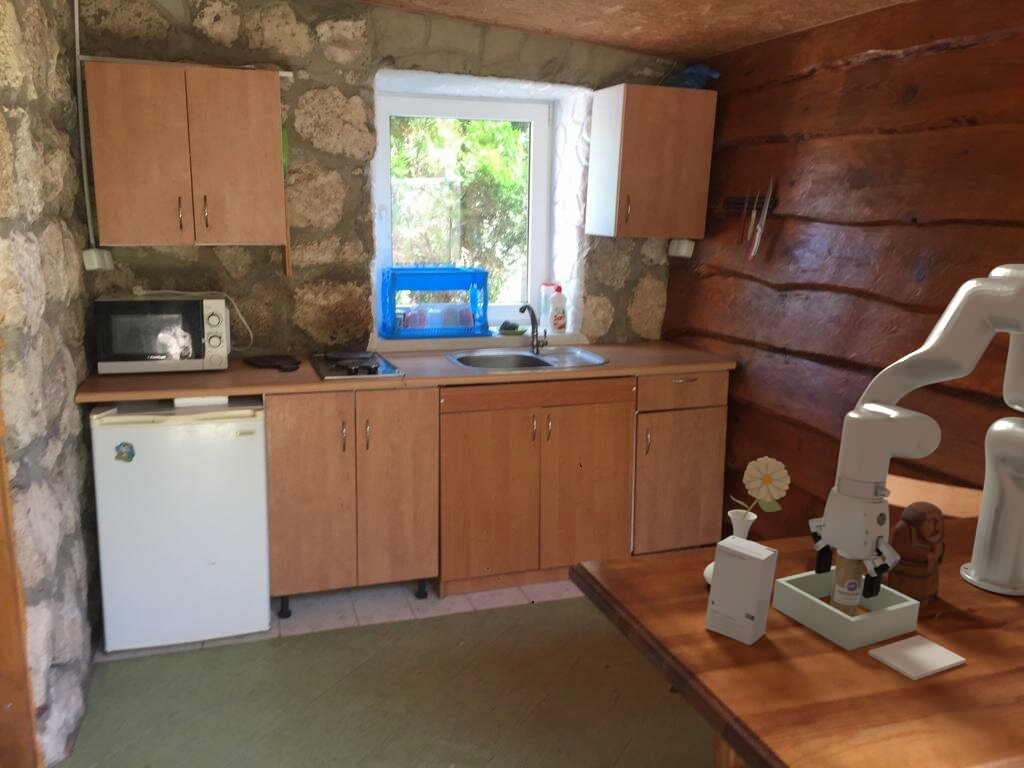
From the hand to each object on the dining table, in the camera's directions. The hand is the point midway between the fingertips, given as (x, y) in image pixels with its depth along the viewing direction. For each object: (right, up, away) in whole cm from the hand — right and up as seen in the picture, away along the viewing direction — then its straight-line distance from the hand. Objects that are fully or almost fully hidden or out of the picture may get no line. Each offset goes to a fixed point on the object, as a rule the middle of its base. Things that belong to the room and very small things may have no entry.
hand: (845, 584), depth 139 cm
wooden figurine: (+16, -5, +10) cm, 19 cm away
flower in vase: (-15, -4, +11) cm, 19 cm away
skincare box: (-20, -7, -5) cm, 21 cm away
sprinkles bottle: (0, -6, +1) cm, 6 cm away
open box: (0, -6, +1) cm, 6 cm away
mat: (+7, -9, -11) cm, 15 cm away
